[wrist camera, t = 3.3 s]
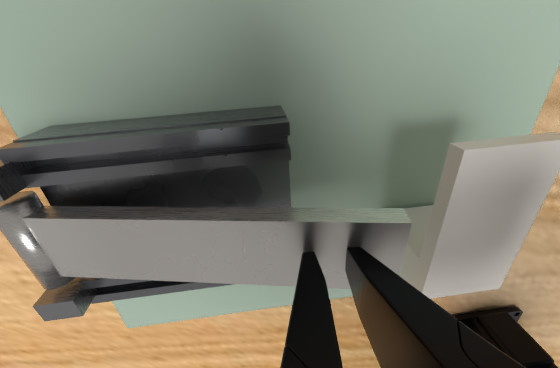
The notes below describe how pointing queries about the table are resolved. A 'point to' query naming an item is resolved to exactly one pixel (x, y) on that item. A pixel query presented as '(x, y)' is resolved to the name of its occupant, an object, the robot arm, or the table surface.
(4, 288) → the table surface
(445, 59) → the board
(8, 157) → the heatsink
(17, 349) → the table surface
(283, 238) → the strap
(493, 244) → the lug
